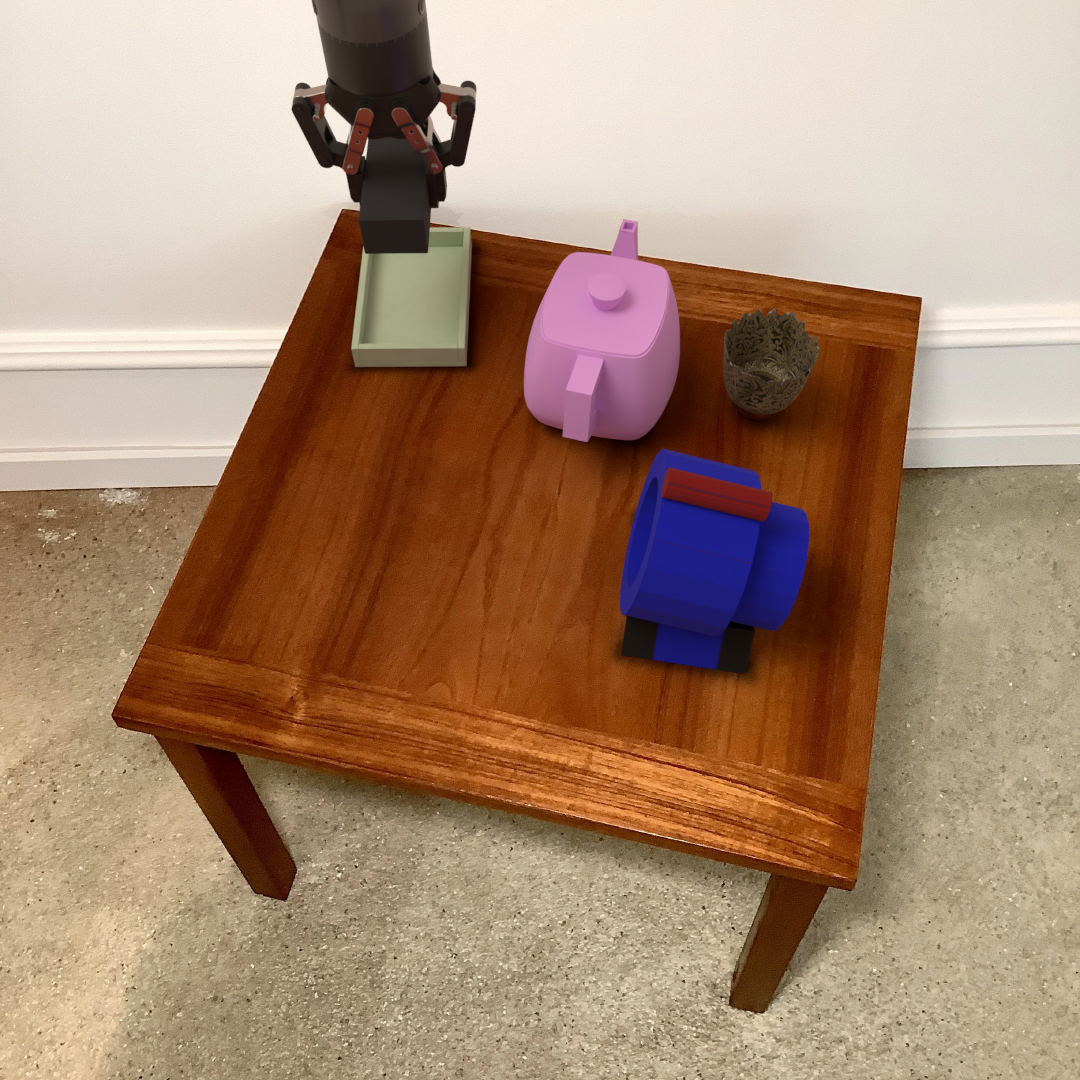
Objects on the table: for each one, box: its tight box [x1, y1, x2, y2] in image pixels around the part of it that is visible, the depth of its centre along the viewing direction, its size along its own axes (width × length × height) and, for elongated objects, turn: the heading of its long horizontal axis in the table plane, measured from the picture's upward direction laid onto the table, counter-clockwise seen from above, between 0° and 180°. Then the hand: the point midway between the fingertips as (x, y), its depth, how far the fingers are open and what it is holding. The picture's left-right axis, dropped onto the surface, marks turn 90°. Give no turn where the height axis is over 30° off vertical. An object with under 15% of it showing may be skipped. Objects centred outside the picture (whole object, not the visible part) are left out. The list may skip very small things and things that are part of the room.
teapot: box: [523, 218, 681, 443], centre depth 88 cm, size 20×12×13 cm, turn 166°
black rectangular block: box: [358, 137, 432, 254], centre depth 88 cm, size 11×5×4 cm, turn 0°
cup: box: [722, 308, 821, 421], centre depth 89 cm, size 8×7×8 cm
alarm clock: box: [619, 448, 810, 675], centre depth 76 cm, size 12×12×15 cm
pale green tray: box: [350, 226, 473, 368], centre depth 98 cm, size 10×15×2 cm, turn 0°
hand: (400, 201), depth 89 cm, fingers closed on black rectangular block, 5 cm apart
